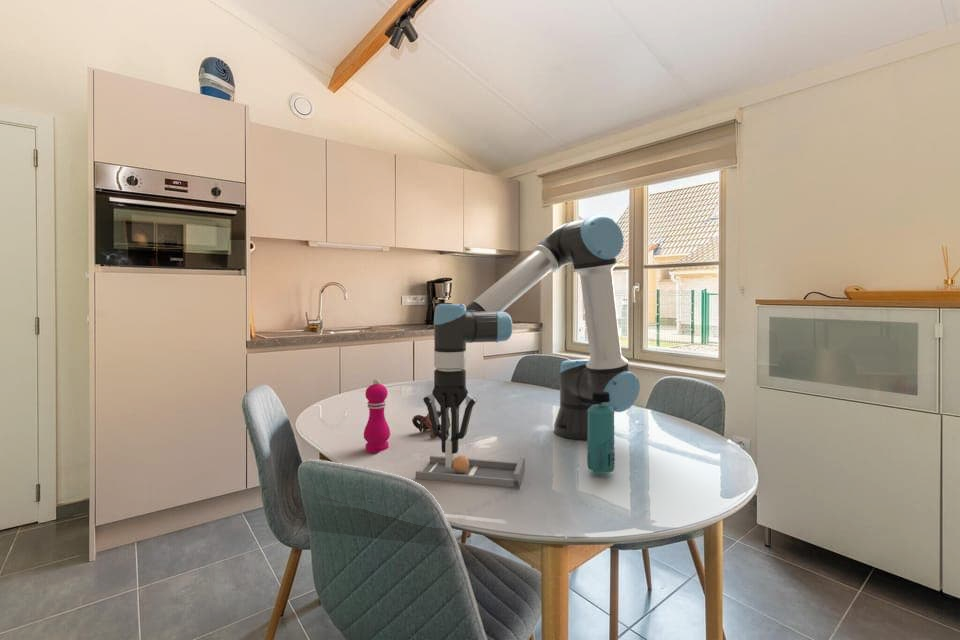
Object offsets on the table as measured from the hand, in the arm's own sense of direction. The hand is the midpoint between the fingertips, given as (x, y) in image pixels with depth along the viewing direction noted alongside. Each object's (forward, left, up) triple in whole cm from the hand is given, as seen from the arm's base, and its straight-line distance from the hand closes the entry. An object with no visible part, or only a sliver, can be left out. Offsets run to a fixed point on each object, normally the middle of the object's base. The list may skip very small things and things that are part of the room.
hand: (450, 465), depth 108 cm
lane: (-5, 0, -2) cm, 6 cm away
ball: (-1, 0, +2) cm, 2 cm away
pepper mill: (+25, -12, -2) cm, 28 cm away
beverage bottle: (-35, -7, -2) cm, 36 cm away
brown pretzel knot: (+14, -29, -2) cm, 33 cm away
